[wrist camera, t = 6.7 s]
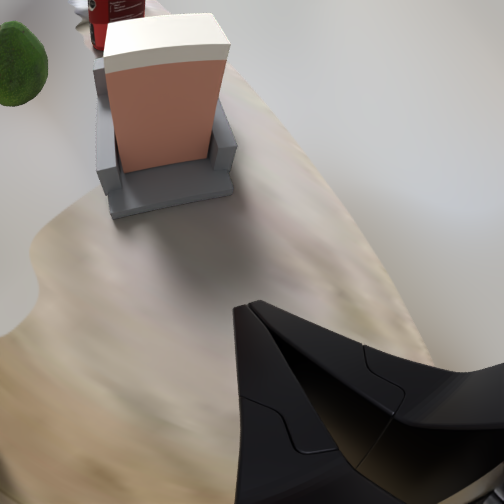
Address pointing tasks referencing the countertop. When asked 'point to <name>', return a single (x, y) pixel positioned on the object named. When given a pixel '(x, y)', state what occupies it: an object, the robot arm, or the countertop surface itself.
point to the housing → (161, 177)
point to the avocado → (20, 64)
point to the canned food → (111, 16)
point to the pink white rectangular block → (164, 86)
